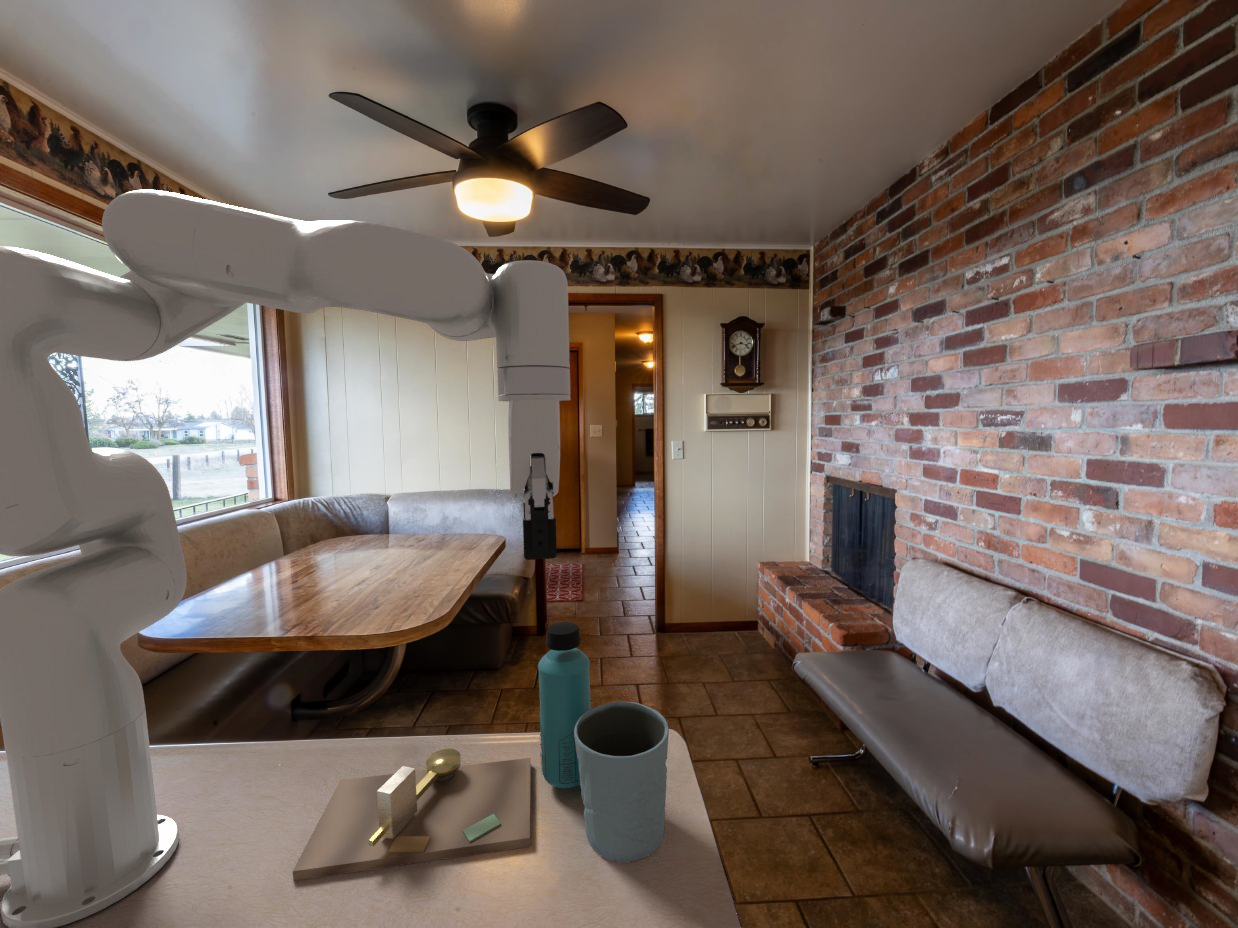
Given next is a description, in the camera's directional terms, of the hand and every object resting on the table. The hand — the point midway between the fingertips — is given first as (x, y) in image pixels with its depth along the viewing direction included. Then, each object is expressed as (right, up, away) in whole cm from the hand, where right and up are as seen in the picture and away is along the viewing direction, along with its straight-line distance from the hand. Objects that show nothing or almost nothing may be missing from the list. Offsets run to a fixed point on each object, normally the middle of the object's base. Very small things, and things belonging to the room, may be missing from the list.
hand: (539, 546), depth 57 cm
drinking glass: (+9, -31, +1) cm, 33 cm away
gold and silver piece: (-14, -30, +3) cm, 33 cm away
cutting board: (-13, -31, +3) cm, 34 cm away
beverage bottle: (+2, -31, +8) cm, 32 cm away
